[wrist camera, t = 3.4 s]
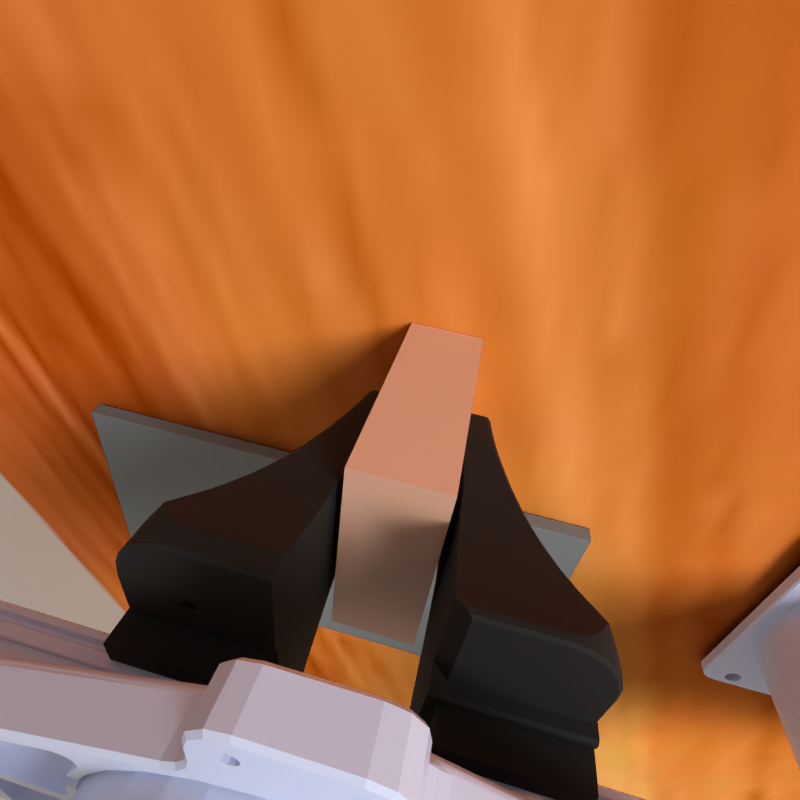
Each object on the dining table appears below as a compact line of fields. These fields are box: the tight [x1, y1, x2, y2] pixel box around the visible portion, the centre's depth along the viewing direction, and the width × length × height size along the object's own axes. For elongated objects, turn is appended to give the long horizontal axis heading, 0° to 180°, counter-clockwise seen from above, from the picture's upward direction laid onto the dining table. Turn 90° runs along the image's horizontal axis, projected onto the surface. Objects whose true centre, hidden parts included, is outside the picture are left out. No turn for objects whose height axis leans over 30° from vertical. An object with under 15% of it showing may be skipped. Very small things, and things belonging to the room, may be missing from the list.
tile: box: [331, 323, 483, 645], centre depth 12 cm, size 2×5×6 cm, turn 172°
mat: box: [92, 404, 591, 656], centre depth 20 cm, size 18×10×1 cm, turn 82°
